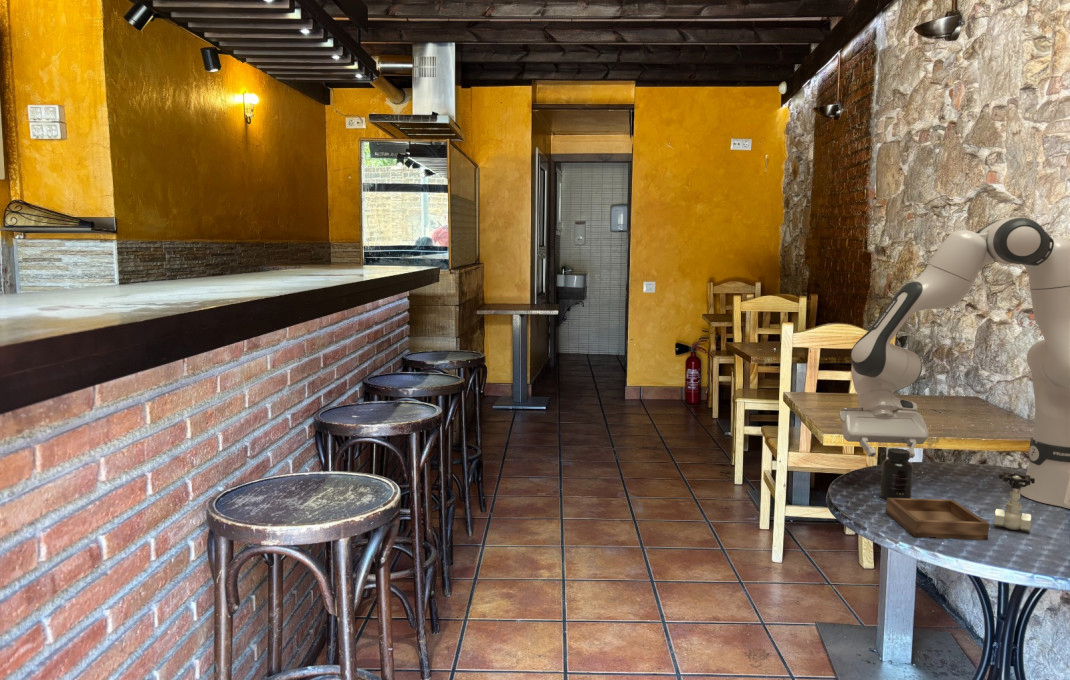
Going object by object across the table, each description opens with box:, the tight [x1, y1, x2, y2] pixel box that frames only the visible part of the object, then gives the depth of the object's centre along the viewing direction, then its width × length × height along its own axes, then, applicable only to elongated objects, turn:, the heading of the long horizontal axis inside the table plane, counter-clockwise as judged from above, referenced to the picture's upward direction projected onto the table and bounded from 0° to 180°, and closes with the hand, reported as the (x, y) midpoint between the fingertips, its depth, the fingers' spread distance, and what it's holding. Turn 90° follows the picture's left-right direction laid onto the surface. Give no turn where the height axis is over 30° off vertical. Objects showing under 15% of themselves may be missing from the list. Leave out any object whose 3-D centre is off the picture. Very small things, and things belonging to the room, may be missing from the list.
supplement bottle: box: [879, 447, 914, 501], centre depth 185 cm, size 7×7×12 cm
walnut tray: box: [885, 498, 990, 541], centre depth 168 cm, size 15×15×4 cm
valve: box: [993, 471, 1035, 532], centre depth 166 cm, size 7×7×12 cm
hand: (891, 456), depth 188 cm, fingers open, 8 cm apart
